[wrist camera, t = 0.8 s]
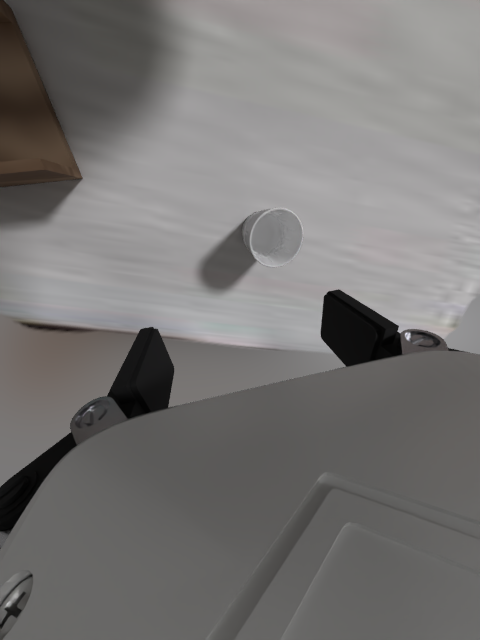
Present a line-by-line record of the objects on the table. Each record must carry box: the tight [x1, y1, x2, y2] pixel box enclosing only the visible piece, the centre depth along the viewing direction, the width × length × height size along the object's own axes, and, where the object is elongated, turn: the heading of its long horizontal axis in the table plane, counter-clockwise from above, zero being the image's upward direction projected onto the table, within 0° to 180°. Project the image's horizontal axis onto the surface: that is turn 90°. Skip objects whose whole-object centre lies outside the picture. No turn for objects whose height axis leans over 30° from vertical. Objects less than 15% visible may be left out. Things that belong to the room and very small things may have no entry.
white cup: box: [242, 208, 303, 268], centre depth 32 cm, size 8×8×10 cm
